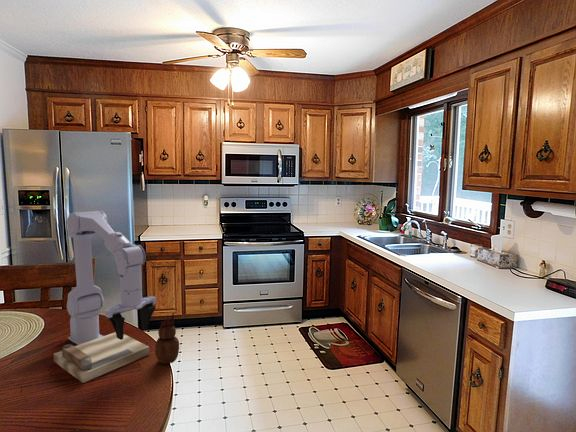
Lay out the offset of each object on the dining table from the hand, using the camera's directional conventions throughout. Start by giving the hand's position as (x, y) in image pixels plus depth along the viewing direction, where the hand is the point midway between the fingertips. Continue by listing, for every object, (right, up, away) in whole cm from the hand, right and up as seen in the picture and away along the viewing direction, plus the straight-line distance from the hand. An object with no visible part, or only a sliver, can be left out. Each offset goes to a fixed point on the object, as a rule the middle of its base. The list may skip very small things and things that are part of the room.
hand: (132, 333), depth 107 cm
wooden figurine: (+9, -10, +5) cm, 14 cm away
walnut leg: (-15, -7, -2) cm, 17 cm away
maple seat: (-12, -9, +6) cm, 16 cm away
